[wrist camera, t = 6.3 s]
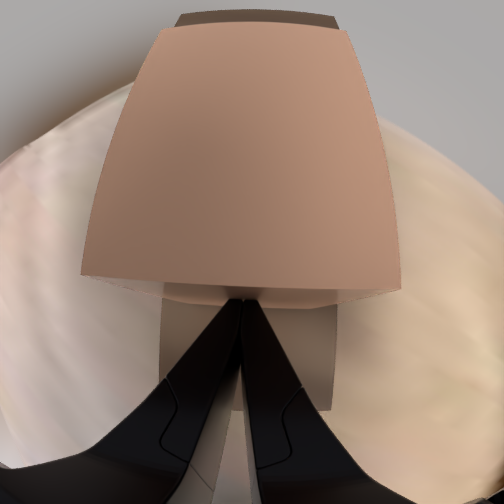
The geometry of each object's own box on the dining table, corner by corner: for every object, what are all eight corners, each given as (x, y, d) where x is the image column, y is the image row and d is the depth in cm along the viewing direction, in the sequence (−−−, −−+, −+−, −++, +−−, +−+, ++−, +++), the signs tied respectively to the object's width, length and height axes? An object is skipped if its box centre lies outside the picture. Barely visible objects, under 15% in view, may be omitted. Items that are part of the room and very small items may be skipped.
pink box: (310, 308, 13) (401, 289, 4) (187, 303, 13) (80, 274, 5) (307, 163, 15) (346, 31, 6) (202, 160, 15) (161, 29, 6)
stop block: (326, 404, 13) (398, 485, 5) (164, 396, 14) (75, 463, 5) (322, 127, 17) (354, 20, 9) (192, 123, 18) (161, 17, 9)
